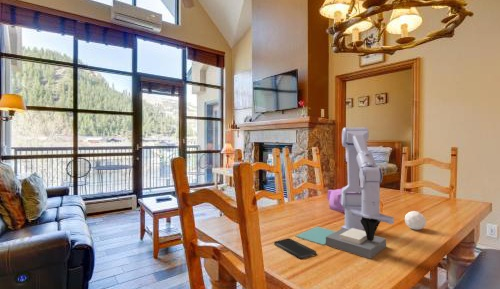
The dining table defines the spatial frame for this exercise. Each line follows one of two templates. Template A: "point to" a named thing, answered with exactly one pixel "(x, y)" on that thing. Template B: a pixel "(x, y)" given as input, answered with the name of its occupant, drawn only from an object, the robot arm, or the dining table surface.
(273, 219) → the dining table surface
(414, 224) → the geometric ball
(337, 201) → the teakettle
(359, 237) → the tile
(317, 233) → the mat
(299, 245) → the phone
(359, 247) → the block
